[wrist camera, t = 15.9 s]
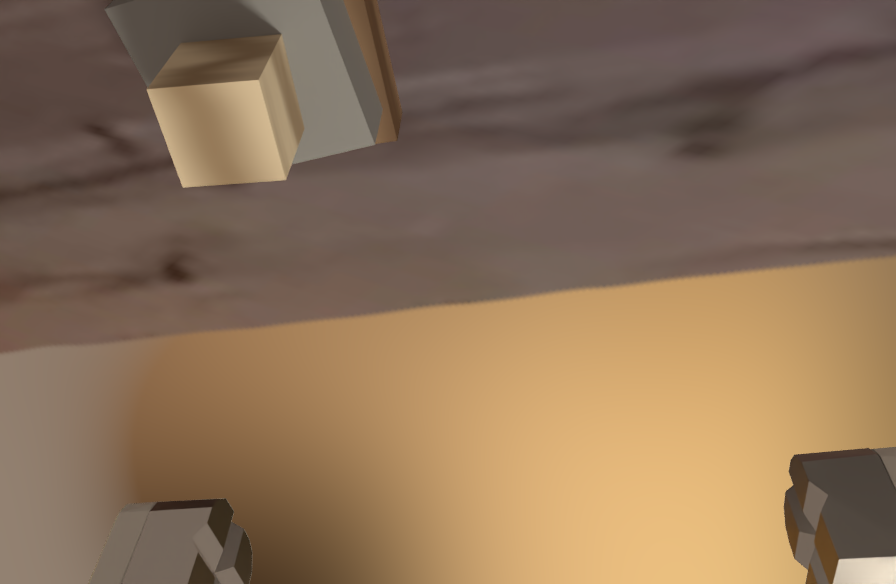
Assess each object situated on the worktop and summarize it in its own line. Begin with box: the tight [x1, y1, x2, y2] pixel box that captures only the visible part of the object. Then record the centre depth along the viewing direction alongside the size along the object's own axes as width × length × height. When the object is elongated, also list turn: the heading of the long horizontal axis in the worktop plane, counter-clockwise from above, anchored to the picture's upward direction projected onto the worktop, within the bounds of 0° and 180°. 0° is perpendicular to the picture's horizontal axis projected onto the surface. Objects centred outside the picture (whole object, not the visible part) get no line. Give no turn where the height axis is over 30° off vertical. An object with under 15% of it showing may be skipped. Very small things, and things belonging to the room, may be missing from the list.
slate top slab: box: [105, 0, 383, 164], centre depth 41 cm, size 10×10×4 cm
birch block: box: [147, 34, 305, 187], centre depth 38 cm, size 5×5×5 cm
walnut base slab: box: [343, 0, 402, 144], centre depth 44 cm, size 12×12×4 cm
